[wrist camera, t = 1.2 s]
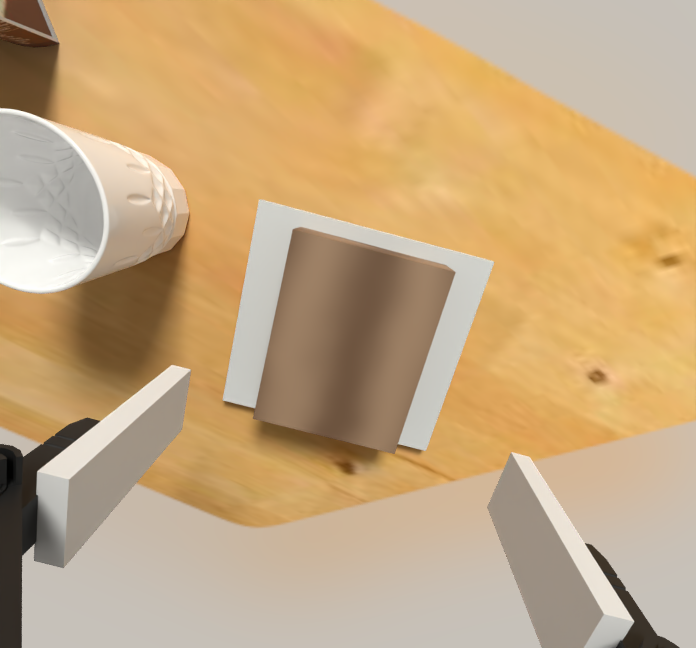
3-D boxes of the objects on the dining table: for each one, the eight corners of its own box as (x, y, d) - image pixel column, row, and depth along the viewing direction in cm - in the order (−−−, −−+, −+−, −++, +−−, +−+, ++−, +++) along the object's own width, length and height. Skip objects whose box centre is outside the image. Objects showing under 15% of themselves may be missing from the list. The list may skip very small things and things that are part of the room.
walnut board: (263, 398, 30) (253, 418, 27) (300, 226, 26) (292, 229, 24) (391, 430, 30) (394, 453, 28) (446, 265, 27) (455, 272, 24)
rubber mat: (226, 395, 31) (222, 400, 30) (262, 199, 27) (259, 199, 26) (424, 444, 32) (425, 450, 31) (490, 260, 27) (494, 261, 27)
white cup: (208, 259, 28) (127, 286, 19) (101, 268, 29) (-31, 300, 19) (185, 137, 26) (79, 97, 16) (70, 150, 26) (-98, 119, 17)
